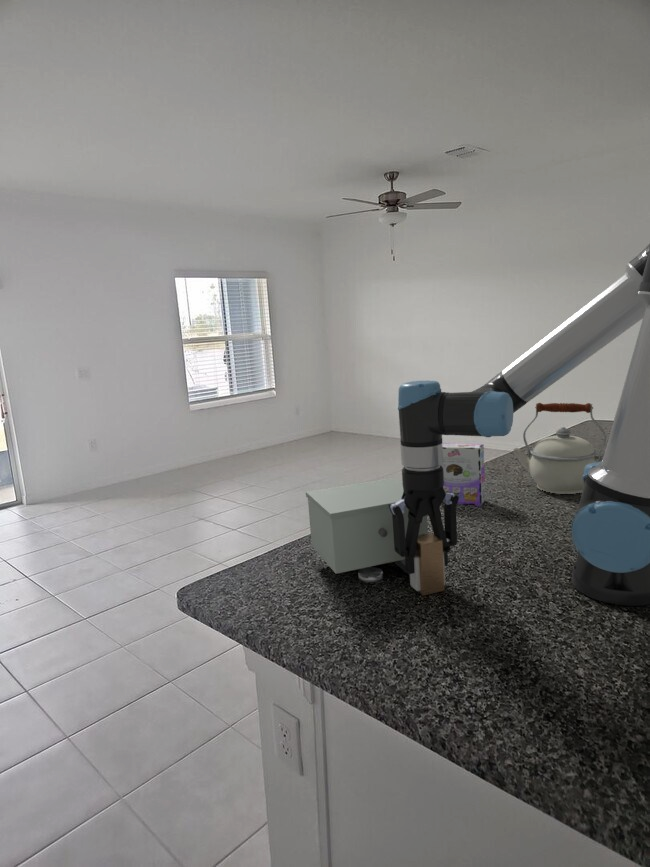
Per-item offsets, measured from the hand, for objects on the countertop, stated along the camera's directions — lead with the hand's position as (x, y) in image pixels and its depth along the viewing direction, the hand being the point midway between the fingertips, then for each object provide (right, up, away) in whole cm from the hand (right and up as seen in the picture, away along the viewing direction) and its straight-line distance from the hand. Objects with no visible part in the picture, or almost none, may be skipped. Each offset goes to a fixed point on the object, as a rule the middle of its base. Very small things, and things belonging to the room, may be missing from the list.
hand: (427, 584), depth 105 cm
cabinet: (-10, +1, +12) cm, 16 cm away
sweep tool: (-2, 0, +5) cm, 5 cm away
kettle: (+48, +13, +56) cm, 75 cm away
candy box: (+18, +9, +50) cm, 54 cm away
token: (-10, -1, +7) cm, 13 cm away
